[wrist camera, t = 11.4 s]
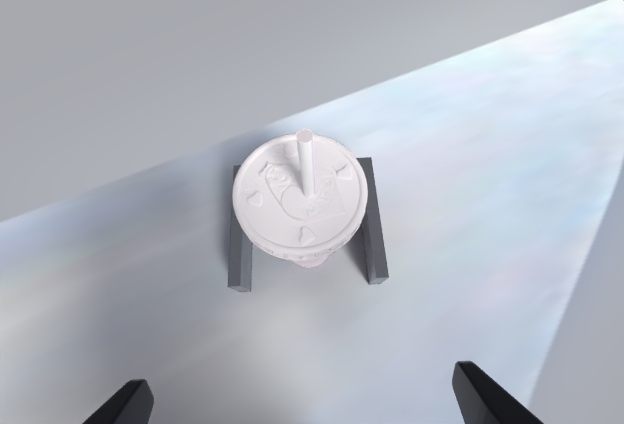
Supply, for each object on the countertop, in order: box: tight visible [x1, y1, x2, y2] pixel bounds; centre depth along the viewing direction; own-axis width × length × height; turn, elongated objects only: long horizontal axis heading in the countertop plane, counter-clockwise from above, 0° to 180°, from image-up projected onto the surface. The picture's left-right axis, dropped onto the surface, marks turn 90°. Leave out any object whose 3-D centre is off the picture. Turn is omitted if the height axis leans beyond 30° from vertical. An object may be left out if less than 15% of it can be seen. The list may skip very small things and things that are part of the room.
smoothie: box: [232, 129, 368, 268], centre depth 16 cm, size 6×6×14 cm
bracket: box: [228, 157, 389, 292], centre depth 21 cm, size 9×10×4 cm
